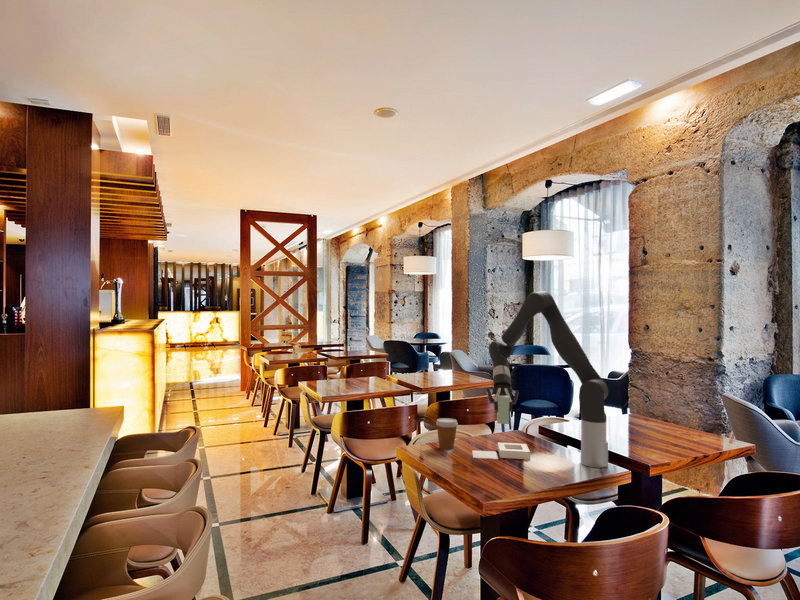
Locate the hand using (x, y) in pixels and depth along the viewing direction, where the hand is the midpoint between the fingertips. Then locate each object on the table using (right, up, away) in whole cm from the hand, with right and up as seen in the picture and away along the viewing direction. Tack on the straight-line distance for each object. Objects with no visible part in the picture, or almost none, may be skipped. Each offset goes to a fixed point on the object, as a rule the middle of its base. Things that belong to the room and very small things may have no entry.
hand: (503, 411), depth 193 cm
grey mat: (-8, -18, -1) cm, 20 cm away
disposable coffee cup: (-23, -18, +9) cm, 31 cm away
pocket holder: (+5, -18, +2) cm, 19 cm away
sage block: (0, -5, +2) cm, 6 cm away
